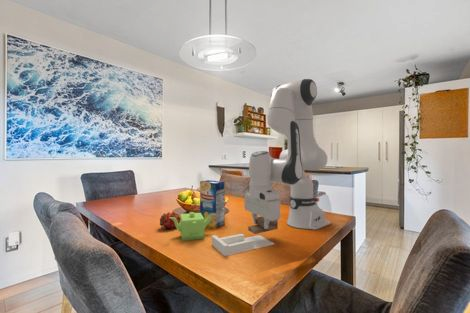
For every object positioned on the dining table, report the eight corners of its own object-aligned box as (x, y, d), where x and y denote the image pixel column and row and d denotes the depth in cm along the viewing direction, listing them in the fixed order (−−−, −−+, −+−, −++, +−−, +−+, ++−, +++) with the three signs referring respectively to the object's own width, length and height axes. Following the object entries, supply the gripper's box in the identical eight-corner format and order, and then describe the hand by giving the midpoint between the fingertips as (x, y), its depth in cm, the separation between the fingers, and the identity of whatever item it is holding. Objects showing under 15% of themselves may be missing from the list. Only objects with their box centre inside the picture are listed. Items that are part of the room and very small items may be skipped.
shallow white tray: (259, 238, 101) (259, 226, 101) (275, 247, 91) (275, 235, 91) (211, 248, 90) (211, 235, 90) (224, 260, 81) (224, 246, 81)
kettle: (195, 248, 91) (194, 219, 91) (167, 242, 97) (166, 215, 97) (215, 235, 104) (215, 210, 104) (189, 230, 111) (189, 207, 110)
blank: (270, 225, 100) (270, 215, 100) (277, 228, 96) (277, 218, 95) (248, 230, 95) (248, 219, 95) (254, 234, 90) (254, 222, 90)
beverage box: (216, 228, 114) (216, 183, 114) (199, 224, 121) (199, 181, 120) (224, 224, 120) (224, 181, 119) (209, 220, 126) (208, 180, 126)
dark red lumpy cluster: (157, 234, 110) (178, 231, 119) (167, 226, 106) (188, 224, 116) (153, 217, 114) (173, 215, 123) (162, 209, 110) (183, 208, 119)
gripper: (240, 188, 102) (241, 220, 102) (269, 197, 84) (269, 235, 84) (252, 187, 105) (253, 218, 105) (283, 195, 87) (283, 232, 87)
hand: (260, 225), depth 95 cm, fingers closed on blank, 5 cm apart
